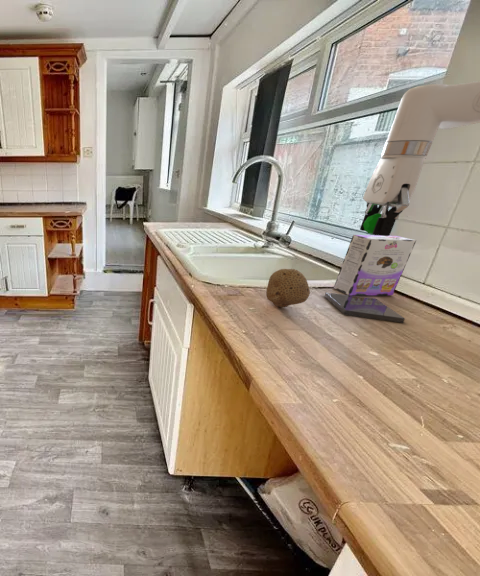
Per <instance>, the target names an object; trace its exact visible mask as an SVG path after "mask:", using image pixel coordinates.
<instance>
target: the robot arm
mask: <svg viewBox="0 0 480 576" xmlns="http://www.w3.org/2000/svg"><path fill="white" fill-rule="evenodd" d="M476 124H480V80H476V81H470V82H462V83H456V84H446V83H432V84H424V85H423V84H422V85H418V86H415V87H411V88H410V89H408V90H406V91H405V92H404V94H403V95H402V97H401V99H400V101H399V104H398V107H397V110H396V113H395V116H394V119H393V122H392V124H391V127H390V130H389V133H388V135H387V138H386V141H385V143H384V147H383V150H382V152H381V156H380V159H379V161H378V162H377V165H376V167H375V168H374V170H373V171H372V175H371V177H370V179H369V181H368V184H367V187H366V189H365V191H364V194H363V196H362V200H363V201H364V202H366V209H365V211H364V217H363V219H362V222H361V224H360V228H359V230H360V231H361V232H366V231H365V230H364V226H363V224H364V222H365V221H366V219H367V218H368V217H369V216H372V215H374V214H381V218H379V217H378V220H377V222H376V225H375V228H374V230H373V233H372V234H371V235H379V236H391V232H392V230H393V228H394V226H395V223H396V221H397V219H398V218H399V217H400V214H402V213H403V211H405V209H407V208H408V207H409V206H410V201H411V199H412V197H413V195H414V193H415V190H416V188H417V185H418V182H419V179H420V176H421V173H422V169H423V165H424V161H425V160H426V159H427V156H428V154H429V152H430V149H431V147H432V144H433V142H434V140H435V137H436V135H437V132H438V130H439V129H442V130H450V129H457V128H460V127H467V126H471V125H476Z"/></svg>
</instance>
